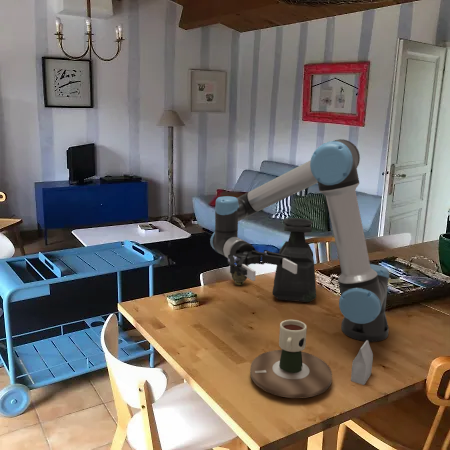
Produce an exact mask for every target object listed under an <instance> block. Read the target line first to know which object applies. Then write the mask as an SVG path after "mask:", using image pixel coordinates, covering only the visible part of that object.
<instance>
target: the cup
mask: <svg viewBox="0 0 450 450" xmlns="http://www.w3.org/2000/svg"><path fill="white" fill-rule="evenodd" d="M234 266H237V264H236V263H235V264H234ZM230 274H231V278H232V280H233V282H234V284H235V286H240V287H241V286H243V285H244V283H245V282H246V280H247V279H248V277H246V276H245V275H242V274H241V276H237V272H234V273H230Z"/></svg>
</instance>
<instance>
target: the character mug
mask: <svg viewBox="0 0 450 450" xmlns="http://www.w3.org/2000/svg"><path fill="white" fill-rule="evenodd" d="M307 326H308V325H307V324H306V323H305V322H303V321H301V320H298V319H286V320H282V321H281V322H280V323H279V336H278V338H279V339H278V345H279V347H280V350H282V353H281V358H280V364H279V367H280V368H281V369H282V370H284V371H287V372H291V373H298V372H300V371H302V368H303V366H302V353H301V352H303V351H304V350H305V348H306V342H307V329H308V327H307Z"/></svg>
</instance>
